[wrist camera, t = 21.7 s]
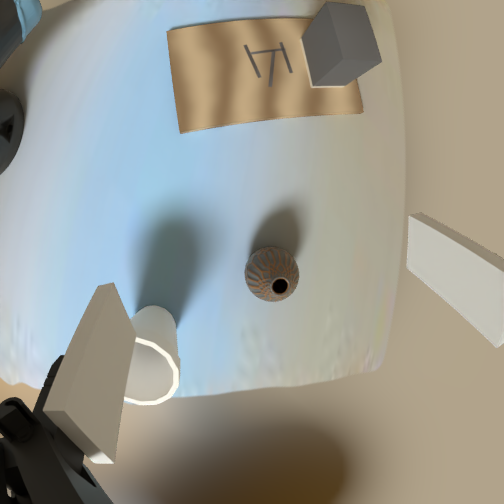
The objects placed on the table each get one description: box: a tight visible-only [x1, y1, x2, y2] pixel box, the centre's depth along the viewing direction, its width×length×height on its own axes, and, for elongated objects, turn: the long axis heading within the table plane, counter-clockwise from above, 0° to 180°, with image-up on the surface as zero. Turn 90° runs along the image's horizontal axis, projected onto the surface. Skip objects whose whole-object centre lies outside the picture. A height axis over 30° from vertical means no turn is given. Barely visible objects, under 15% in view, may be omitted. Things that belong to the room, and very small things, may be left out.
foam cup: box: [124, 305, 180, 405], centre depth 37 cm, size 10×9×13 cm
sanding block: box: [300, 2, 382, 88], centre depth 31 cm, size 8×5×11 cm, turn 9°
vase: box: [245, 247, 299, 302], centre depth 39 cm, size 7×7×9 cm
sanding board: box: [167, 18, 364, 134], centre depth 37 cm, size 26×16×1 cm, turn 100°
